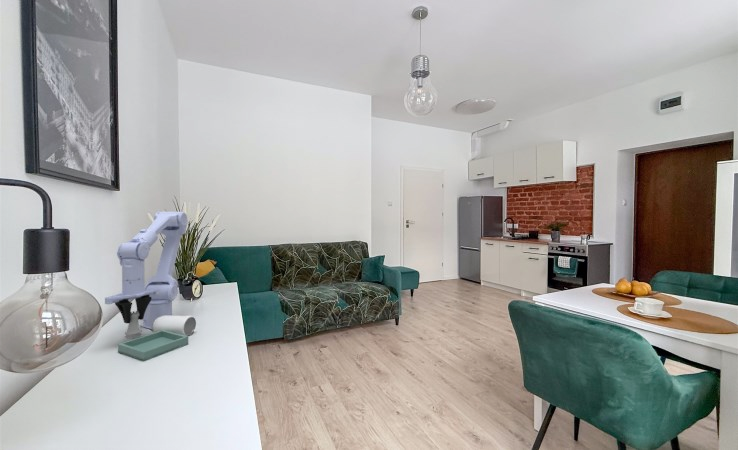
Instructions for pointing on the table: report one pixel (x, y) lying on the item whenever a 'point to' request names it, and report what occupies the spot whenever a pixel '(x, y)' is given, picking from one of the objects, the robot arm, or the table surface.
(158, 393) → the table surface
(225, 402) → the table surface
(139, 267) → the robot arm
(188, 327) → the can
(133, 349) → the tray
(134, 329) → the rook chess piece
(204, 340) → the table surface
